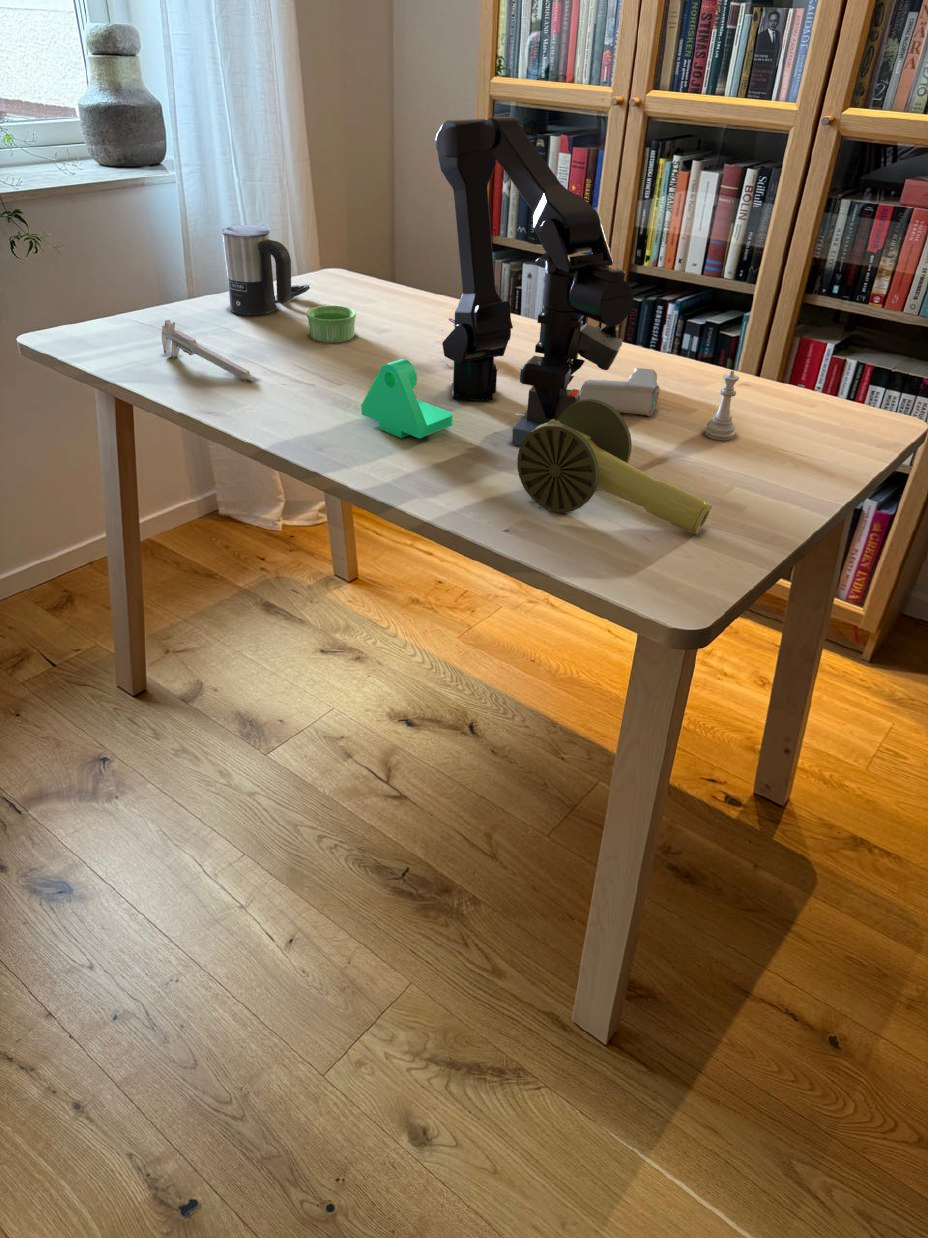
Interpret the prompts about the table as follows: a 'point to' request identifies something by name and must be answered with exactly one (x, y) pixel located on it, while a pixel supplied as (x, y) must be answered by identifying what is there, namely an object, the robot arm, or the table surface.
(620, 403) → the infrared thermometer
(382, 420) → the camera mount
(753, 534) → the table surface
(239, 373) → the caliper
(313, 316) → the ramekin
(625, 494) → the cannon
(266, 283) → the milk frother
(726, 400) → the chess piece
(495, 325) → the robot arm
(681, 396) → the table surface
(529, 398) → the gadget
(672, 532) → the table surface
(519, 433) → the base
